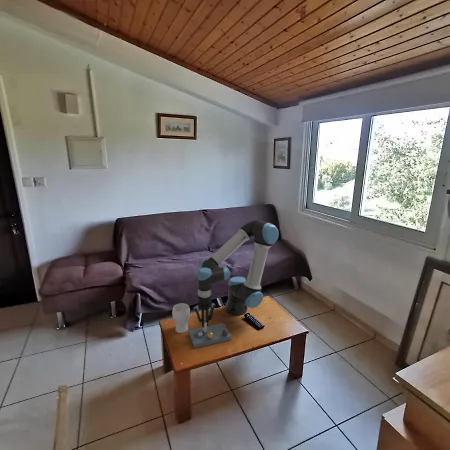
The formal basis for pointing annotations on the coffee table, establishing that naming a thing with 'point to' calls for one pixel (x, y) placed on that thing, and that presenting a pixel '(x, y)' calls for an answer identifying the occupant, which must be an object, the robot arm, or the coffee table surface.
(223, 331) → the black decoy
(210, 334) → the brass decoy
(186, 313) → the cup
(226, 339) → the plate
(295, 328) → the coffee table surface
